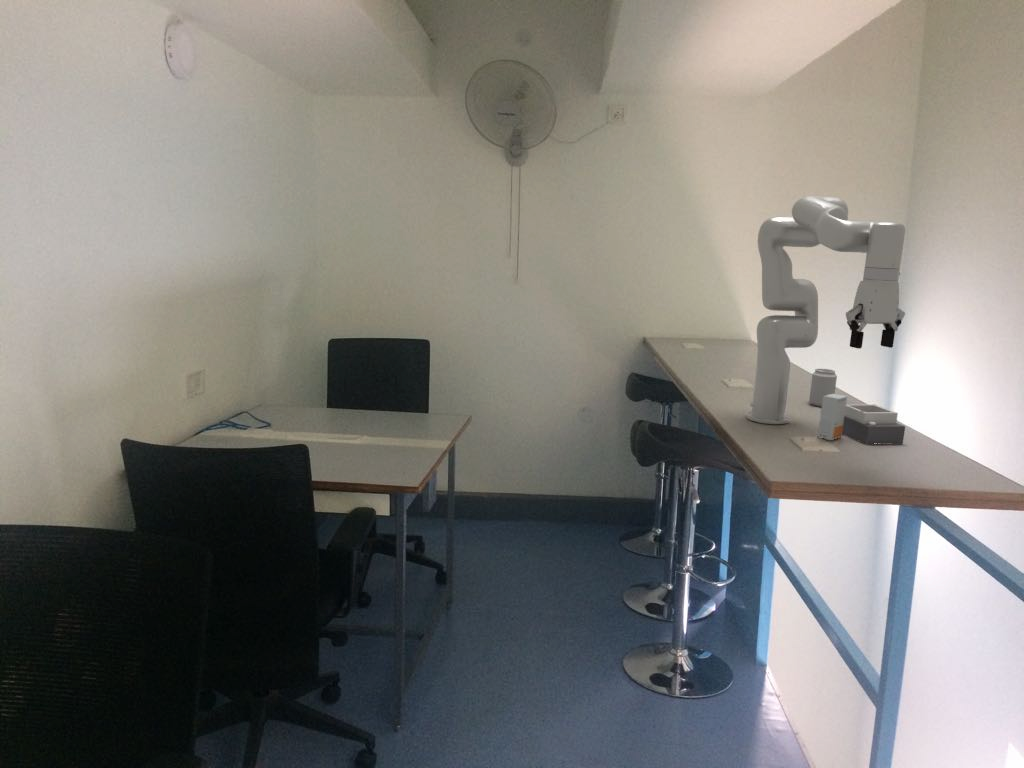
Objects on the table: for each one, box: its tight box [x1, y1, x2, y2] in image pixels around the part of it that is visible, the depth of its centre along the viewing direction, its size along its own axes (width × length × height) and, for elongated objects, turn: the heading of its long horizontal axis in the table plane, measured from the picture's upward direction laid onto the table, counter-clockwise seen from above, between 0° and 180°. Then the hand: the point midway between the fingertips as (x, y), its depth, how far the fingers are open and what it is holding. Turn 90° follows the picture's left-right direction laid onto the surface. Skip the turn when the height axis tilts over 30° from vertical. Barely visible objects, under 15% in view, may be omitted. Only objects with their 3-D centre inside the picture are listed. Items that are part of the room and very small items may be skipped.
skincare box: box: [817, 393, 848, 441], centre depth 208 cm, size 6×4×12 cm
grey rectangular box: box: [842, 403, 906, 445], centre depth 211 cm, size 16×11×8 cm
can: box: [808, 368, 838, 408], centre depth 248 cm, size 8×8×12 cm
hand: (871, 347), depth 180 cm, fingers open, 9 cm apart
